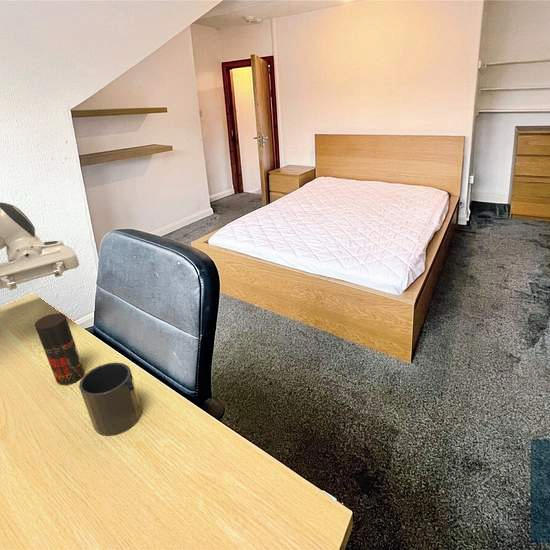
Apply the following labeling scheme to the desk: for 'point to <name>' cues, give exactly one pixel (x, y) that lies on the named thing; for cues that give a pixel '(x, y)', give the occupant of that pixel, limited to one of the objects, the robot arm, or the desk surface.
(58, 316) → the deodorant
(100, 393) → the pen pot
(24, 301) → the desk surface
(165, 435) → the desk surface
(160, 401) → the desk surface
